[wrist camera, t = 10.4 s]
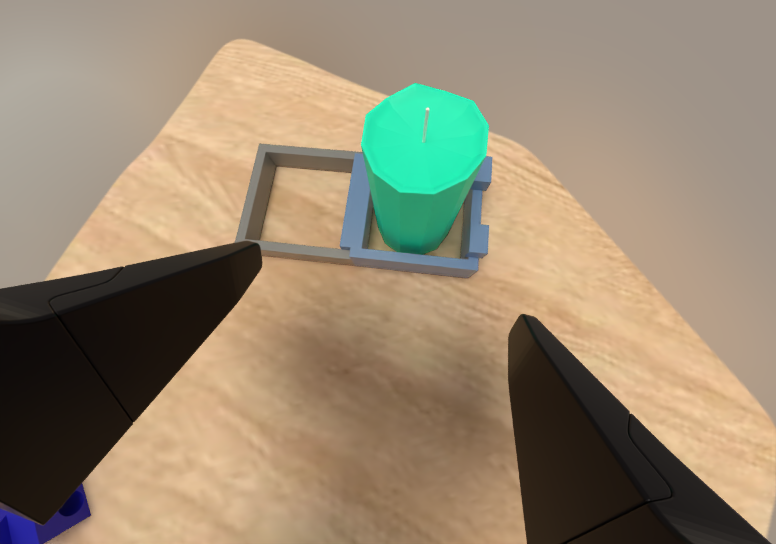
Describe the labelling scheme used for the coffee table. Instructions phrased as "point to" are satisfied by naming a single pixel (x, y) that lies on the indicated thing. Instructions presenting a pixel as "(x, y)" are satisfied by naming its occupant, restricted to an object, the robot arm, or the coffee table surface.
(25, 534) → the cable clip
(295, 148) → the frame
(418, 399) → the coffee table surface
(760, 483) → the coffee table surface
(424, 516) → the coffee table surface
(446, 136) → the candle
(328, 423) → the coffee table surface
